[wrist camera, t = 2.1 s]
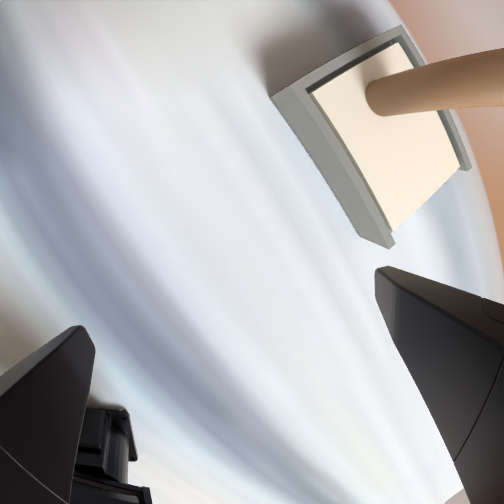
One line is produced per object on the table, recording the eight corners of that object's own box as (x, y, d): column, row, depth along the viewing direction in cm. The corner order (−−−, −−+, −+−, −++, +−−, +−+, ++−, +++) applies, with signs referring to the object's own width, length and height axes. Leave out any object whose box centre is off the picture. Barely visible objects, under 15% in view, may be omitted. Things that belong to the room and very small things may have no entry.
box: (269, 98, 19) (289, 85, 15) (371, 38, 19) (401, 24, 16) (359, 236, 23) (389, 249, 19) (439, 163, 23) (471, 167, 20)
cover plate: (304, 95, 17) (444, 43, 7) (389, 45, 17) (517, 4, 7) (384, 228, 20) (520, 283, 10) (450, 165, 21) (574, 184, 10)
